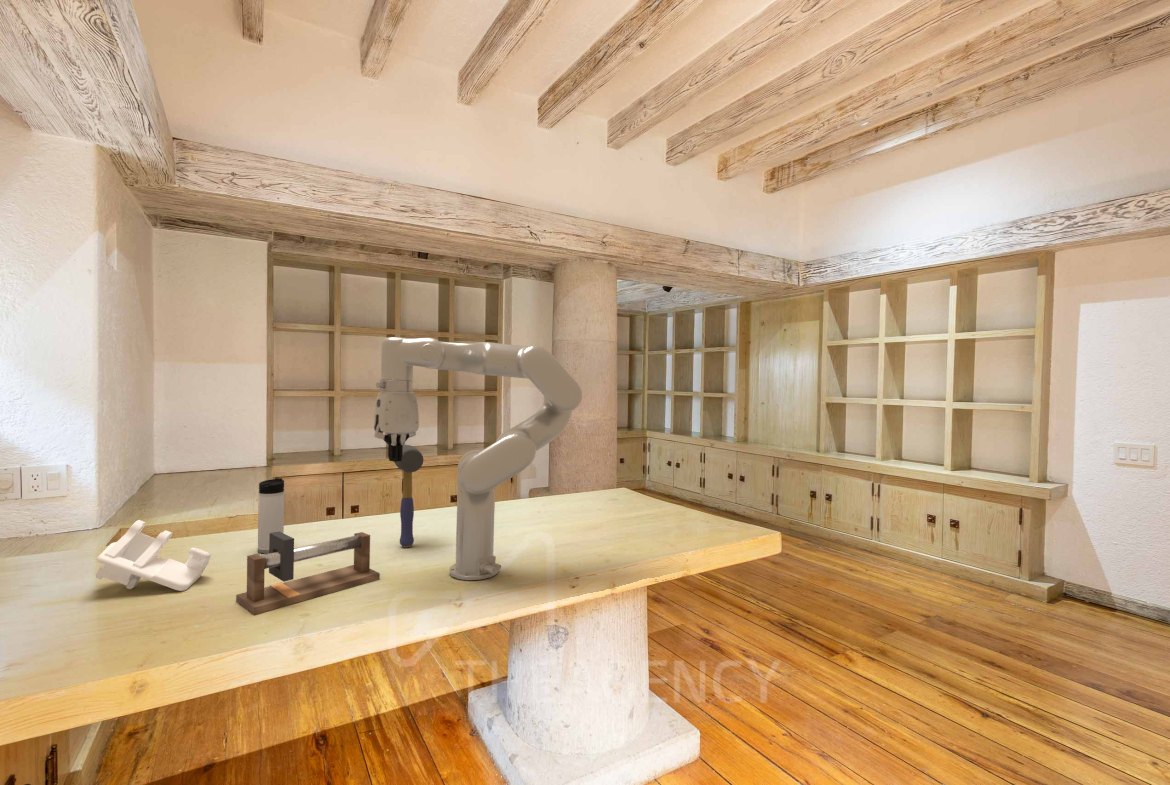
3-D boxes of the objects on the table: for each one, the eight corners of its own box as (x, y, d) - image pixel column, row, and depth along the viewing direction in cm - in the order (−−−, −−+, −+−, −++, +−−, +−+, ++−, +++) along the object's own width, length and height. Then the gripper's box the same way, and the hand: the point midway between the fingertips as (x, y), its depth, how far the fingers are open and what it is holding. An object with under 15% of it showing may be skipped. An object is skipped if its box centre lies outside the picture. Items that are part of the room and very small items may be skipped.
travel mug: (288, 547, 155) (290, 478, 155) (273, 554, 149) (274, 482, 148) (268, 546, 156) (269, 477, 156) (252, 553, 149) (253, 481, 149)
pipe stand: (358, 569, 139) (359, 528, 139) (379, 579, 133) (380, 536, 133) (236, 601, 117) (236, 553, 117) (253, 614, 111) (254, 563, 111)
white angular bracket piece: (189, 595, 132) (219, 546, 133) (170, 615, 121) (201, 561, 123) (101, 564, 126) (133, 513, 128) (72, 581, 115) (107, 526, 117)
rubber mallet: (424, 550, 155) (425, 447, 155) (397, 554, 152) (398, 448, 151) (415, 539, 166) (416, 442, 166) (389, 542, 163) (390, 443, 162)
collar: (278, 570, 123) (279, 531, 123) (293, 579, 118) (294, 538, 118) (268, 572, 121) (269, 533, 121) (283, 581, 116) (284, 540, 116)
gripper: (376, 387, 126) (375, 465, 126) (431, 388, 137) (429, 459, 137) (360, 386, 130) (358, 462, 131) (414, 387, 142) (412, 456, 142)
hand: (395, 460), depth 134 cm, fingers closed
